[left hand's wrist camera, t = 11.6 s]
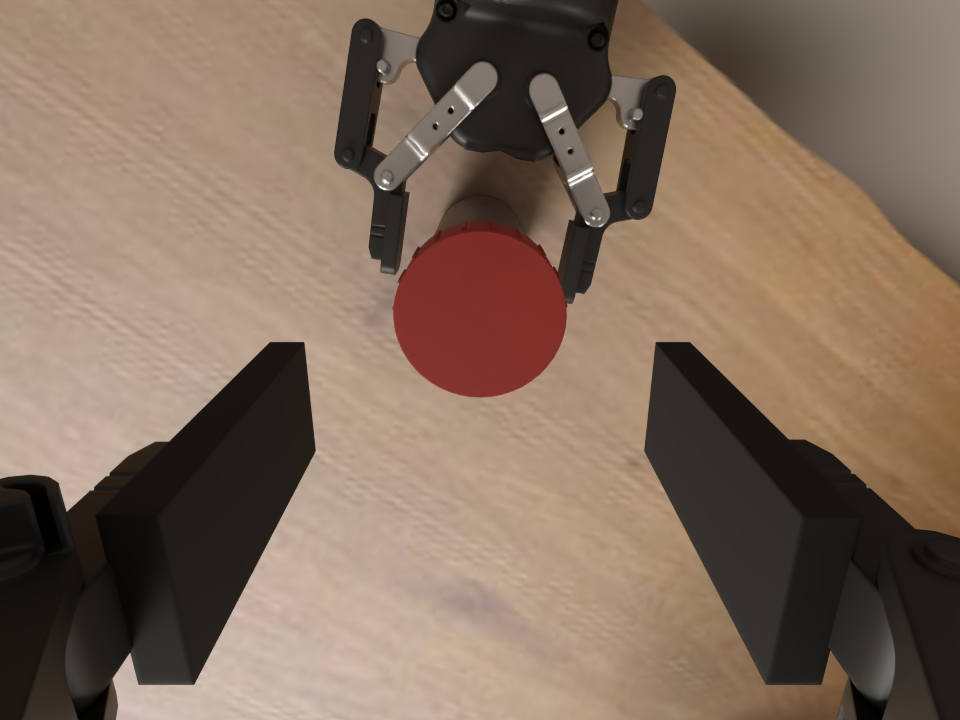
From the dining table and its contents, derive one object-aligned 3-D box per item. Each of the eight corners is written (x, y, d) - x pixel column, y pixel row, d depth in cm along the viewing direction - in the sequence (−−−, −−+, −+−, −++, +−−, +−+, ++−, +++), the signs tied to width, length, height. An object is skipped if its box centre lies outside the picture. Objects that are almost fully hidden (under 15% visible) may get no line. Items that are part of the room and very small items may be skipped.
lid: (494, 403, 24) (496, 430, 21) (368, 315, 22) (356, 335, 20) (592, 285, 22) (605, 301, 20) (462, 184, 21) (460, 190, 19)
